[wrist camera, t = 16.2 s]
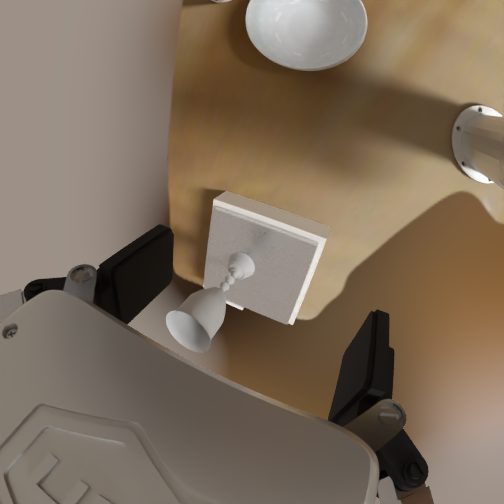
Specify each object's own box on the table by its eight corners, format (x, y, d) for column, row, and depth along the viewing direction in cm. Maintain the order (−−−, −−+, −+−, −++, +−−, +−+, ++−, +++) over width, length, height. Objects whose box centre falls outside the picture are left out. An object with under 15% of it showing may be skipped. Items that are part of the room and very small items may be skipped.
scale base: (330, 226, 48) (326, 240, 43) (297, 313, 59) (290, 330, 55) (226, 190, 52) (211, 200, 47) (213, 278, 63) (201, 292, 59)
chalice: (265, 280, 50) (219, 353, 35) (233, 284, 53) (181, 350, 39) (251, 243, 47) (195, 310, 33) (218, 249, 51) (157, 310, 36)
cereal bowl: (265, 78, 39) (248, 73, 34) (257, -6, 32) (240, -20, 26) (371, 77, 33) (373, 70, 28) (360, -12, 26) (358, -31, 20)
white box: (323, 231, 48) (317, 246, 43) (291, 315, 59) (283, 334, 54) (229, 198, 52) (213, 208, 47) (215, 284, 63) (202, 299, 58)
